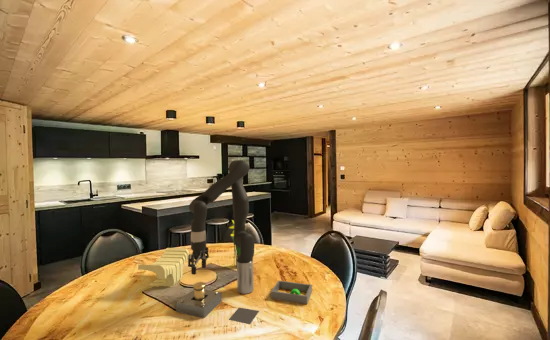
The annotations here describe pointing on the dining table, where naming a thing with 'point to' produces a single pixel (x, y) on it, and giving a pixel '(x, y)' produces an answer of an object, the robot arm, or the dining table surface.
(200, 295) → the brass capped cylinder
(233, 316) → the mat
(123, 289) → the dining table surface
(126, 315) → the dining table surface
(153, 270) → the slatted curved stool
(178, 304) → the housing
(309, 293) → the parts tray
